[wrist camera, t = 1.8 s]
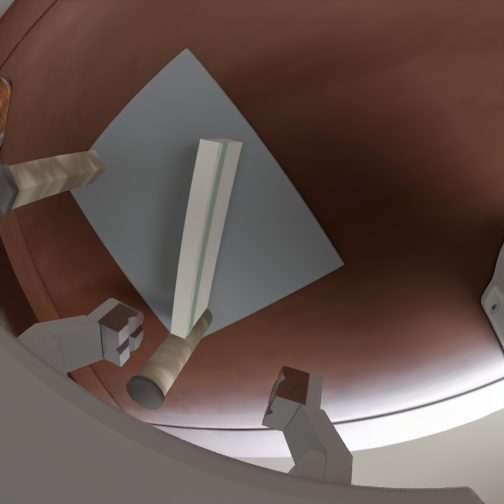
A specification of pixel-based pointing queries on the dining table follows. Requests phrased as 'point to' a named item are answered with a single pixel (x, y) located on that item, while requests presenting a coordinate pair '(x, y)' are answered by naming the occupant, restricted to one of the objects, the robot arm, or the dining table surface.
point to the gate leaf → (203, 230)
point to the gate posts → (73, 176)
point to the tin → (4, 105)
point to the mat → (177, 196)
